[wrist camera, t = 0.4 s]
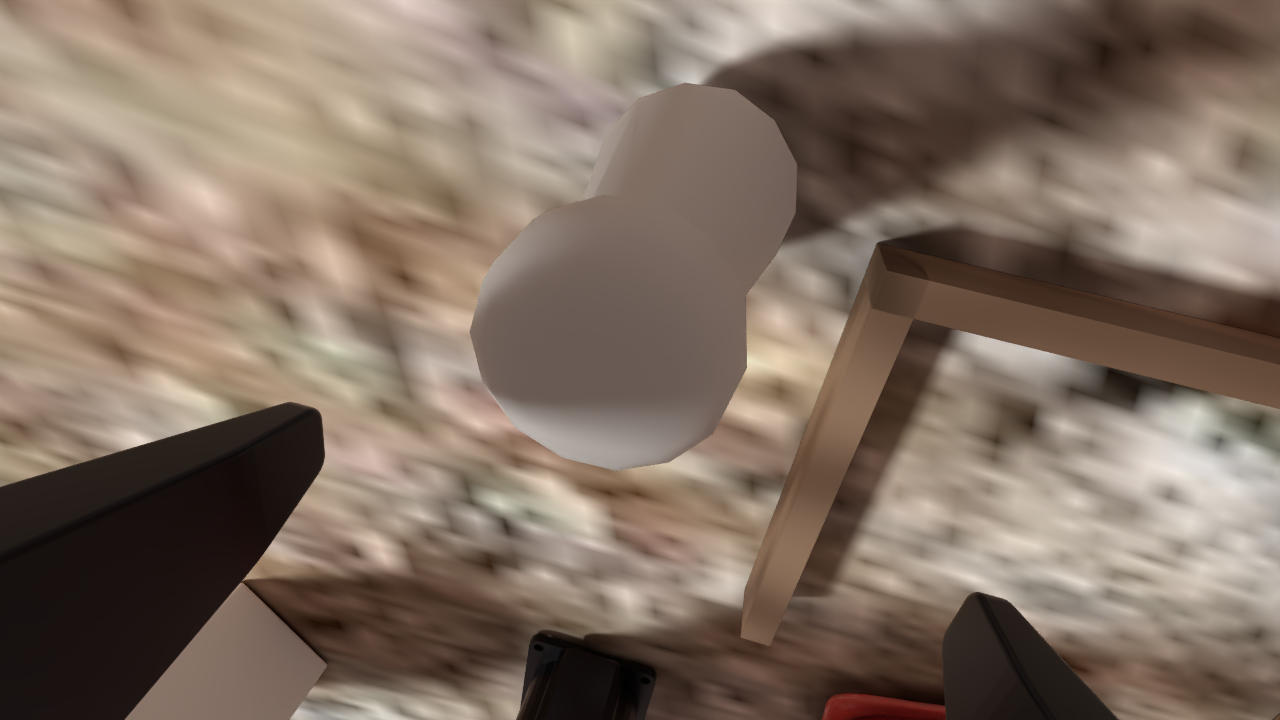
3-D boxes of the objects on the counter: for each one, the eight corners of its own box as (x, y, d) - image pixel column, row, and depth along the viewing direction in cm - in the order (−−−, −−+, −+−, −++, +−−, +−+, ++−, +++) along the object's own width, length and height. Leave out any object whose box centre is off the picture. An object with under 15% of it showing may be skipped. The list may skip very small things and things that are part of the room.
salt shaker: (819, 92, 19) (859, 218, 7) (774, 277, 21) (755, 569, 10) (621, 62, 19) (387, 135, 8) (604, 244, 22) (411, 485, 11)
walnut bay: (1283, 746, 26) (1327, 812, 24) (744, 589, 28) (740, 637, 26) (1670, 430, 18) (1789, 487, 16) (876, 242, 20) (886, 270, 18)
